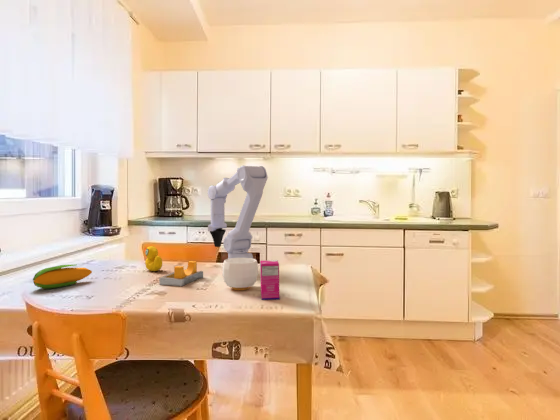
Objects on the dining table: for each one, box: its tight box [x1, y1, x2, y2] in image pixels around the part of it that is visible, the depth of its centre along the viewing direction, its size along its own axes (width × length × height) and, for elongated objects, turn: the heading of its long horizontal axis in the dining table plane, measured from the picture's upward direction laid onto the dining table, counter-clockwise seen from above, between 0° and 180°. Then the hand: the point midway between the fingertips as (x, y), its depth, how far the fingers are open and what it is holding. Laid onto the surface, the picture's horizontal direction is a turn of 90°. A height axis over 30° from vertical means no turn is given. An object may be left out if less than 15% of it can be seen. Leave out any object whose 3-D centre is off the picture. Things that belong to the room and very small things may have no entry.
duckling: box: [144, 245, 163, 272], centre depth 170 cm, size 11×5×10 cm, turn 47°
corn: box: [32, 264, 93, 290], centre depth 145 cm, size 7×8×20 cm
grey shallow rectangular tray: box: [158, 270, 204, 287], centre depth 153 cm, size 11×15×2 cm
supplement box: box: [259, 259, 281, 301], centre depth 130 cm, size 6×6×12 cm
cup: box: [221, 258, 259, 291], centre depth 142 cm, size 12×12×10 cm
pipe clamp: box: [173, 260, 198, 279], centre depth 152 cm, size 12×4×6 cm, turn 164°
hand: (217, 246), depth 174 cm, fingers closed
